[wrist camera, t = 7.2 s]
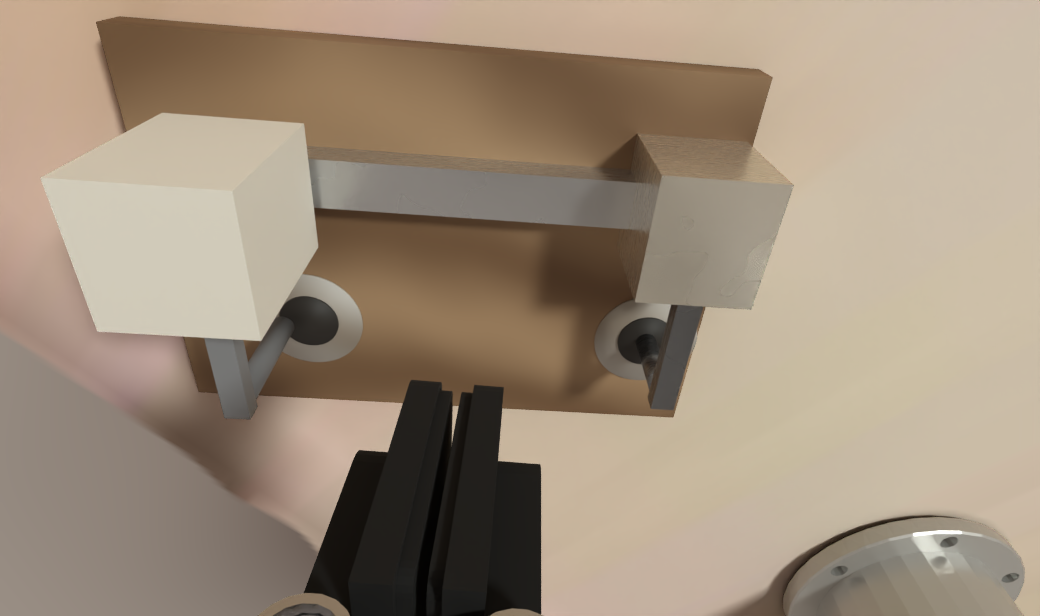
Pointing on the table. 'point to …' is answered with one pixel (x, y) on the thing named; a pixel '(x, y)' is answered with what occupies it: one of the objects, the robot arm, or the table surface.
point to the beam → (603, 218)
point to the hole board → (436, 239)
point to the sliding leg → (193, 237)
